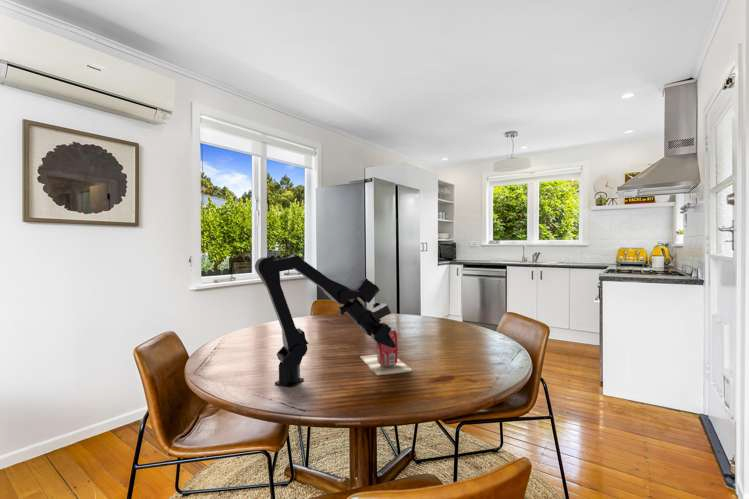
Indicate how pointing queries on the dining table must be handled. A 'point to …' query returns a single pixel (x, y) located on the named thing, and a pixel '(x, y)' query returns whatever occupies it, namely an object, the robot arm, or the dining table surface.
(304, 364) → the dining table surface
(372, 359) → the board
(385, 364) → the soda can
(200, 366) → the dining table surface
